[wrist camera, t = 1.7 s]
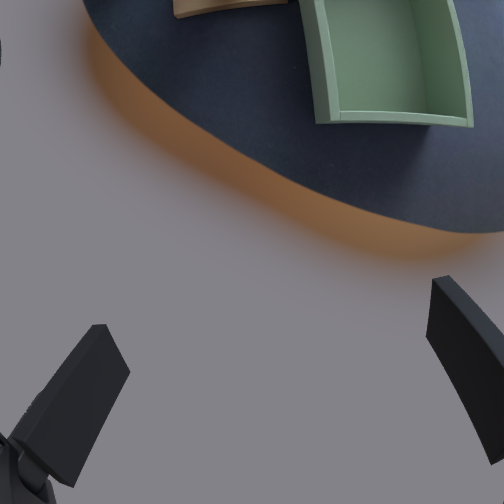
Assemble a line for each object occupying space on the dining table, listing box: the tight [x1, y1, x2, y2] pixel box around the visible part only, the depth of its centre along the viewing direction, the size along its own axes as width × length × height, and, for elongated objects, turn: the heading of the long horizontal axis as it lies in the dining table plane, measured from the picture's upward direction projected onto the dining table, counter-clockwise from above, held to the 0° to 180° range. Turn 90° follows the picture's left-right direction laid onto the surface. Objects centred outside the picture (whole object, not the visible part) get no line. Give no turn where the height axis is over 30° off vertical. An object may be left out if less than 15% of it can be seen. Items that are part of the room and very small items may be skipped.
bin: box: [299, 0, 474, 128], centre depth 20 cm, size 14×23×9 cm, turn 6°
